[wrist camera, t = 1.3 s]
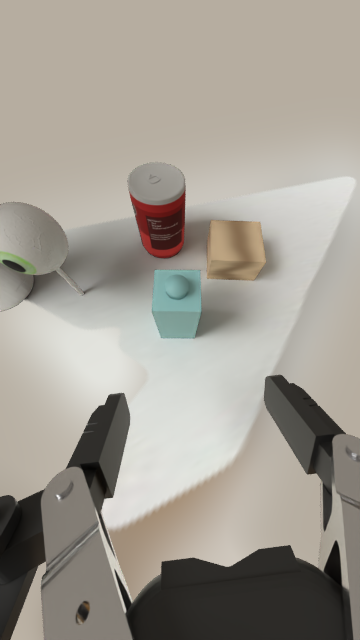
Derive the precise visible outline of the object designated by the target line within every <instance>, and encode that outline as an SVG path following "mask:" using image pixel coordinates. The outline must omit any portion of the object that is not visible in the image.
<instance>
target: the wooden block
mask: <svg viewBox="0 0 360 640" xmlns="http://www.w3.org/2000/svg"><path fill="white" fill-rule="evenodd" d="M265 263H266V259H265V252H264V245H263V238H262V231H261V224H260V222H248V221H219V220H211V222H210V228H209V233H208V239H207V279H229V280H255V278H256V277H257V275H258V274H259V272H260V271H261V269H262V268H263V266H264V265H265Z"/></svg>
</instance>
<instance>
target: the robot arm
mask: <svg viewBox="0 0 360 640" xmlns="http://www.w3.org/2000/svg"><path fill="white" fill-rule="evenodd" d="M33 283H34V277H33V275H30V274H24V273H20V272H17V271H15V270H13V269H10V268H9V267H7V266H5V265H4V264H2V263H1V262H0V311H5V310H8V309H11V308H13V307H15V306H17V305H18V304H19V303H21V302H22V301H23V300H24V299H25V298H26V297H27V296H28V294H29V293H30V292H31V289H32V287H33ZM264 401H265V405H266V408H267V410H268V411H269V413H270V415H271V416H272V418H273V419H274V421H275V423H276V424H277V426H278V427H279V429H280V431H281V433H282V434H283V436H284V437H285V439H286V441H287V442H288V444H289V446H290V447H291V449H292V450H293V452H294V454H295V456H296V457H297V459H298V460H299V462H300V464H301V465H302V467H303V468H304V470H305V472H306V473H307V474H315V473H317V474H318V476H319V477H320V479H321V484H320V490H321V542H320V549H319V563H318V568H317V567H315V566H314V565H312V564H310V563H308V562H306V561H303V560H301V559H299V558H295V556H294V553H293V551H292V548H291V546H290V545H288V546H280V547H273V548H265V549H258V550H257V551H255V552H254V553H252V554H250V555H249V556H247V557H246V558H244V559H242V560H241V561H239V562H237V563H236V564H234V565H233V566H230V567H225V566H221V565H217V564H214V563H210V562H207V561H203V560H199V559H196V558H188V559H180V560H172V561H164V562H162V566H161V574H160V575H158V576H157V577H155V578H154V579H153V580H152V581H150V582H149V583H148V584H147V585H146V586H145V587H144V588H143V590H142V591H141V592H140V593H139V594H138V596H137V597H136V599H135V600H134V601H132V598H131V596H130V592H129V589H128V587H127V584H126V581H125V578H124V576H123V573H122V571H121V568H120V566H119V563H118V560H117V557H116V554H115V551H114V548H113V545H112V543H111V539H110V536H109V533H108V530H107V527H106V524H105V521H104V518H103V515H102V512H101V509H102V506H103V502H104V499H106V498H113V495H114V491H115V487H116V482H117V478H118V474H119V469H120V465H121V460H122V456H123V452H124V447H125V443H126V439H127V434H128V430H129V426H130V413H129V409H128V405H127V401H126V398H125V394H124V393H118V394H110V395H109V396H108V398H107V400H106V403H105V405H101V406H99V407H98V408H97V409H96V410H95V411H94V412H93V413H92V415H91V417H90V419H89V421H88V425H87V426H86V428H85V430H84V433H83V434H82V436H81V438H80V440H79V442H78V445H77V447H76V449H75V451H74V453H73V455H72V457H71V459H70V461H69V463H68V466H67V467H66V469H65V470H63V471H62V472H60V473H59V474H57V475H56V476H55V477H54V478H53V479H52V480H51V481H50V482H49V484H48V485H47V487H46V488H45V489H44V490H42V491H40V492H38V493H35V494H33V495H31V496H29V497H27V498H25V499H22V500H20V501H18V502H17V501H16V500H15V498H13V497H12V496H10V495H6V496H2V497H0V640H10V639H11V636H12V634H13V631H14V628H15V626H16V623H17V621H18V618H19V615H20V613H21V610H22V607H23V605H24V602H25V599H26V597H27V594H28V592H29V589H30V586H31V584H32V581H33V578H34V576H35V573H36V571H37V568H38V566H39V565H40V564H42V563H44V562H46V573H45V574H44V575H43V577H42V581H41V600H42V613H43V614H42V615H43V629H44V640H360V439H359V438H356V437H354V436H351V435H347V434H346V433H345V432H344V431H343V430H342V429H341V428H340V427H339V426H338V425H337V424H336V423H335V422H334V421H333V420H332V419H331V418H330V417H329V416H328V415H327V414H326V413H325V411H324V410H323V409H322V408H321V407H320V406H318V405H317V403H316V402H315V401H314V400H313V399H311V397H310V396H309V395H308V394H307V393H306V392H305V391H304V390H303V389H302V388H300V387H299V386H297V385H295V384H294V383H290V384H289V383H288V381H287V380H286V379H285V378H284V377H283V376H282V375H274V376H267V377H266V379H265V391H264Z"/></svg>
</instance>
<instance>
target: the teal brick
mask: <svg viewBox="0 0 360 640" xmlns="http://www.w3.org/2000/svg"><path fill="white" fill-rule="evenodd" d="M201 312H202V311H201V282H200V270H155V274H154V287H153V301H152V313H153V316H154V319H155V322H156V325H157V327H158V330H159V333H160V336H161V338H195V334H196V330H197V327H198V323H199V319H200V315H201Z"/></svg>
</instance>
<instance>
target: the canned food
mask: <svg viewBox="0 0 360 640" xmlns="http://www.w3.org/2000/svg"><path fill="white" fill-rule="evenodd" d="M128 189H129V193H130V198H131V201H132V205H133V209H134V213H135V217H136V221H137V224H138V228H139V232H140V236H141V240H142V243H143V246H144V247H145V249H146V250H147V251H148V252H149V253H150V254H151V255H153V256H155V257H159V258H169V257H172V256H174V255H176V254H177V253H178V252H179V251H180V250H181V248H182V246H183V243H184V225H185V178H184V175H183V174H182V172H181V171H180V170H179V169H177V168H176V167H174V166H172V165H170V164H166V163H161V162H152V163H147V164H143V165H141V166H138V167H137V168H135V169H134V170H133V171H132V172H131V173H130V175H129V177H128Z"/></svg>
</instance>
